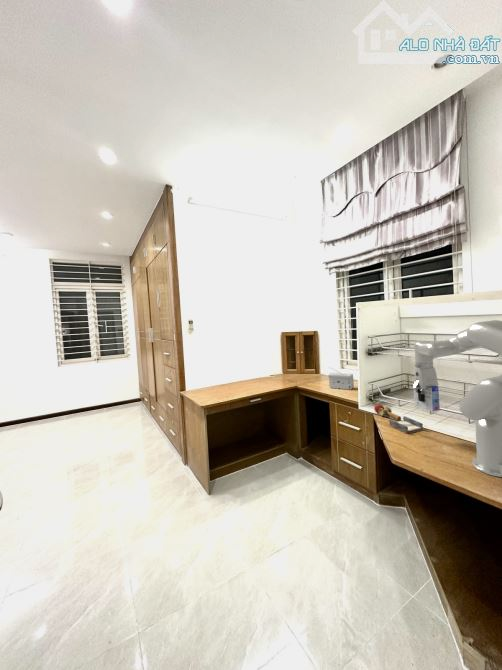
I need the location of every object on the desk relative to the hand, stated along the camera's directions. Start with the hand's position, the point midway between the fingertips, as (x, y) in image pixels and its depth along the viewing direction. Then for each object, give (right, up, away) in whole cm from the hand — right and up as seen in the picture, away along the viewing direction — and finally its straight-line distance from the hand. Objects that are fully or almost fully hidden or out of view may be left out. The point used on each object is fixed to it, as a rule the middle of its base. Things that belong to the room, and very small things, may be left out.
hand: (426, 399), depth 132 cm
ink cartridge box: (0, -5, 0) cm, 5 cm away
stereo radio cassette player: (-8, -16, +102) cm, 104 cm away
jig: (-2, -20, +15) cm, 25 cm away
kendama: (-2, -19, +33) cm, 39 cm away
